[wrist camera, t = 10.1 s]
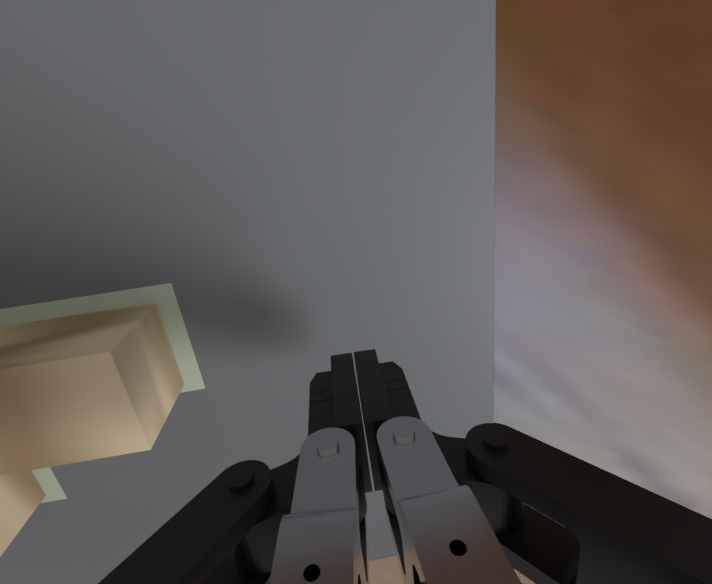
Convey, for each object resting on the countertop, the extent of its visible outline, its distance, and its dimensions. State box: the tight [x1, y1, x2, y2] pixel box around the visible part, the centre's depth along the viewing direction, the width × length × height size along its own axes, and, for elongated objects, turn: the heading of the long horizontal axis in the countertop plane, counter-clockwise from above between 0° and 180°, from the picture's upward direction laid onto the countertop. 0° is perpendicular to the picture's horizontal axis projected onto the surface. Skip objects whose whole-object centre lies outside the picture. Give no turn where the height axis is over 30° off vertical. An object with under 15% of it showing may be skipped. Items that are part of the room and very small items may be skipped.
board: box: [0, 0, 496, 584], centre depth 15 cm, size 24×28×1 cm
